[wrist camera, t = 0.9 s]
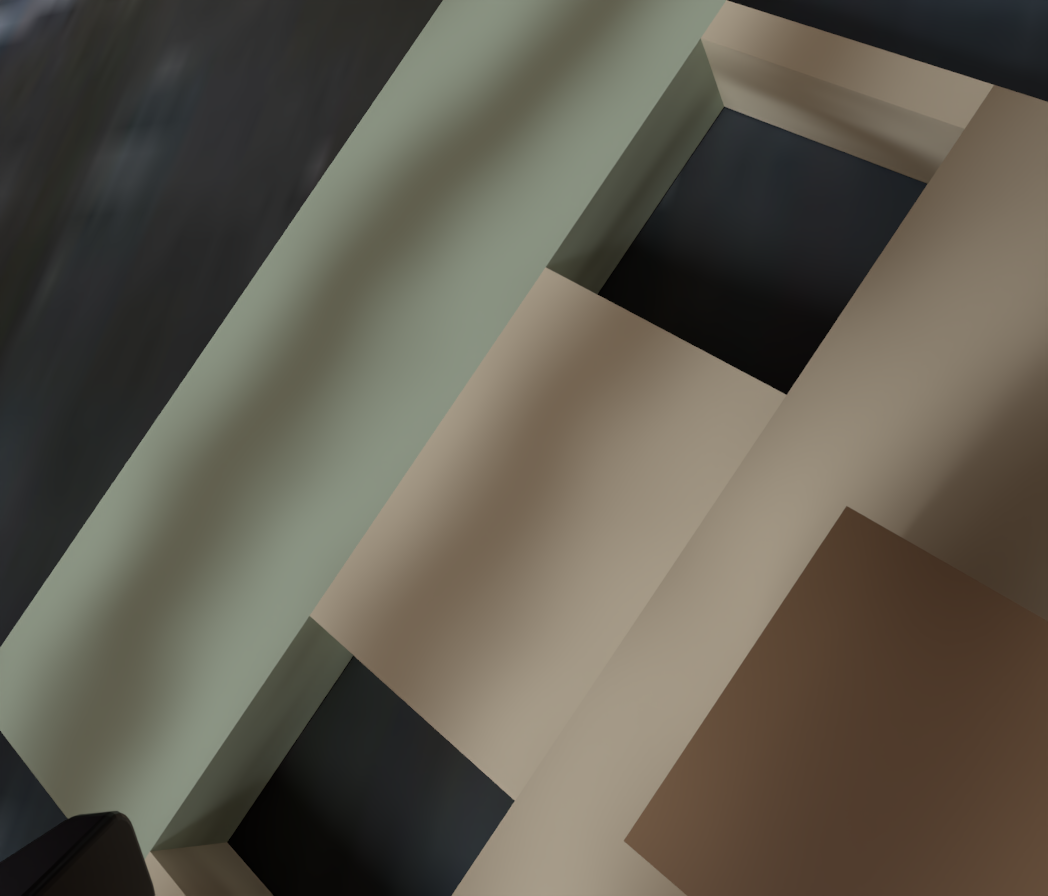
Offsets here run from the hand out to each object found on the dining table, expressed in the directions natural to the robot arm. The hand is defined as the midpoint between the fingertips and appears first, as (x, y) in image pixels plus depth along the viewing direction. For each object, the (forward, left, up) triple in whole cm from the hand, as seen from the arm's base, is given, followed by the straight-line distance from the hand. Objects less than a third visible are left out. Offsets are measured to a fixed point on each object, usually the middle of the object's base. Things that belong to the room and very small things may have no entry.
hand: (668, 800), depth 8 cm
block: (-2, -1, -9) cm, 10 cm away
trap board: (+5, -1, -12) cm, 13 cm away
